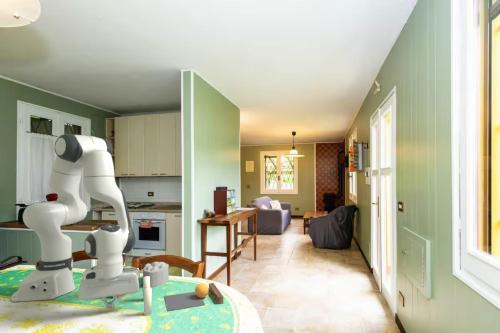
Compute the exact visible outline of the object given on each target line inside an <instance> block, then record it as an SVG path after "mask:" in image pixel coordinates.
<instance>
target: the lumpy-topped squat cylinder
mask: <svg viewBox="0 0 500 333" xmlns="http://www.w3.org/2000/svg"><path fill="white" fill-rule="evenodd" d="M169 266H170V265H169V263H166V262H164V261H153V262H151V263H149V262H148V263H146V264H145V265H144V267H143V269H142V278H143V277H145V276H150V287H151V288H153V289H154V288H159V287H161V286H163V285H165V284H167V282H168V281H169V280H170V279H169V278H170V277H169V276H170V275H169V268H170V267H169Z"/></svg>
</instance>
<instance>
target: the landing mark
mask: <svg viewBox="0 0 500 333" xmlns="http://www.w3.org/2000/svg"><path fill="white" fill-rule="evenodd" d="M163 297H164V300H165V305H166V309H167V312H173V311H178V310H183V309H184V310H185V309H189V308H197V307H202V306H206V303H205V301H204V299H203V298H199V297H197V296H196V294H195V291H190V292H185V293H184V292H183V293H176V294H170V295H165V296H163Z"/></svg>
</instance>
